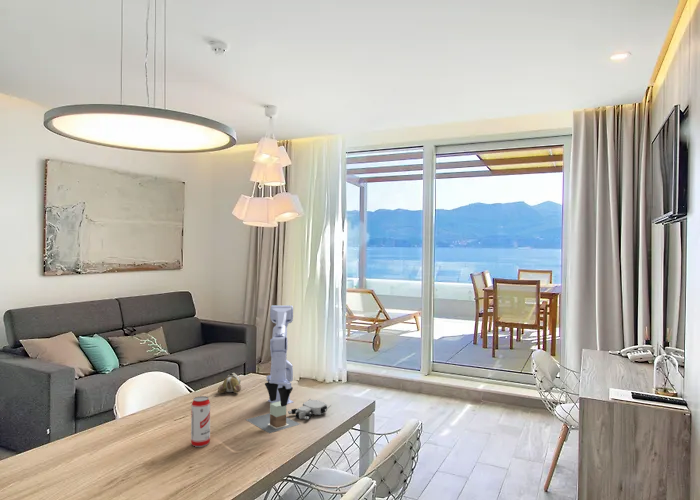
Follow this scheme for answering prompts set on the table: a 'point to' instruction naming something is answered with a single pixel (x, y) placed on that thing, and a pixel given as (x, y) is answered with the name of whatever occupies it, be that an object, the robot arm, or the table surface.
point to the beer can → (200, 421)
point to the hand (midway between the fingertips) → (278, 403)
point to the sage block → (277, 409)
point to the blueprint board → (264, 423)
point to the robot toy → (309, 409)
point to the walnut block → (277, 420)
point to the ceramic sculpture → (230, 384)
